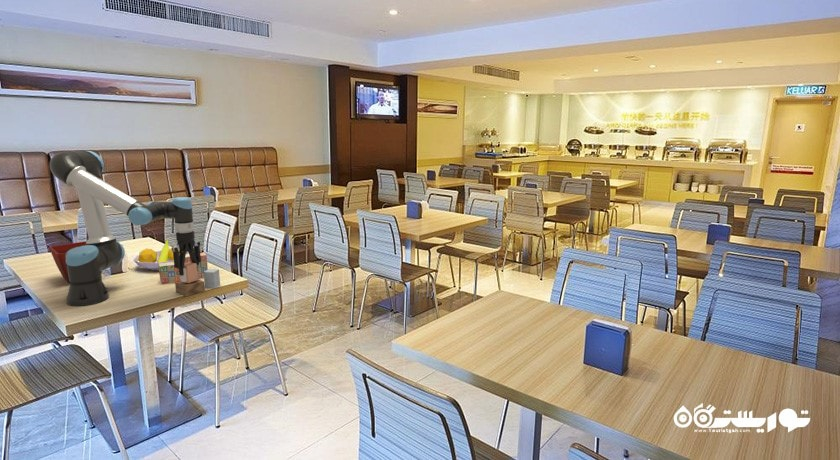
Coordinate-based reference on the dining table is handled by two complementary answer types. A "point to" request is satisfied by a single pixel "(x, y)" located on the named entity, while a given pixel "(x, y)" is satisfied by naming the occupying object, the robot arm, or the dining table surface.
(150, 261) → the fruit bowl
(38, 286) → the dining table surface
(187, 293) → the walnut base
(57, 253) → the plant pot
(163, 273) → the stack of blocks
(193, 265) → the terracotta block
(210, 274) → the greyblue block
